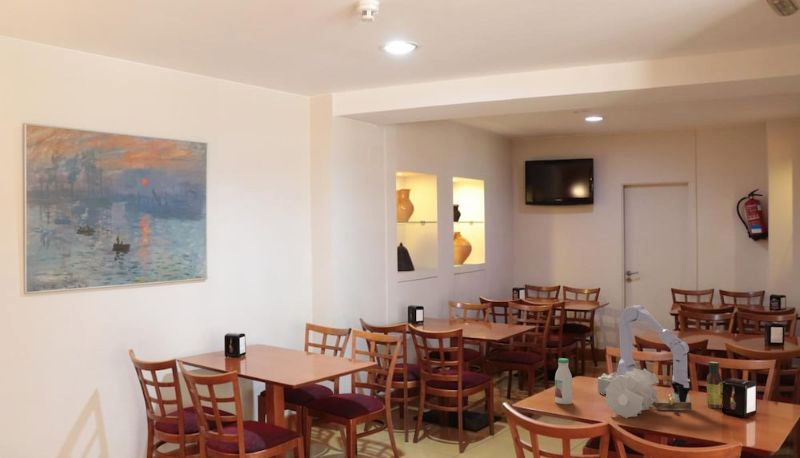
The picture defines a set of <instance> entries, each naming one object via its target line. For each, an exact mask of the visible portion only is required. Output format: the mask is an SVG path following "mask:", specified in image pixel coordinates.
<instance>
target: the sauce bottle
mask: <svg viewBox="0 0 800 458" xmlns="http://www.w3.org/2000/svg"><path fill="white" fill-rule="evenodd" d="M708 366H709V367H708V368H709V370H708V372H709V373H708V374H707V376H706V400H707V401H706V402H707V407H708V408H710V409H722V408H723V404H722V393H723V380H722V377H721V375H720V369H719V366H720V363H719V362H718V361H709V362H708Z"/></svg>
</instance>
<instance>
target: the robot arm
mask: <svg viewBox="0 0 800 458" xmlns="http://www.w3.org/2000/svg"><path fill="white" fill-rule="evenodd" d="M635 322H642V323H643V322H644V323H645V324H647V325H648V326H649V327H650V328H651V329H653V330H654V331H655V332H656V333H657V334H658V338H659V340H661V341H662V342H663V344H665V345H666V346H667V347H668V348H669V349H670V352H671V354H672V355H673V356H672V357H673V359H672V363H673V364H672V371H673V372H672V373H673V375H672V377H671V380H672V382H671V381H670V384H671V387H672V389H673V392H679V399H680V402H686V398H687V394H689V392H690V390H691V389H692V387H691V385H690V383H689V382H691V379H690V378H688V353H690V347H689V345H688V343H687V342H686V341H682V339H681V338H679V337H677V335H676V334H675V333H674V331H673V330H670V329H668V328H664V327H663V326H662V325H661V323H660V322H658V321H657V320H656V318H654V316H653V315H652V314H651V313H650V312H649V311H648V309H646V308H645V307H644V306H643V305H641V304H635V305H630V306H627V307H625V308H624V309H623V310H622V313H621V315H620V317H619V320H618V330H619V331H618V333H619V334H618V335H619V349H620V350H619V351H620V354H619V355H620V360H619V362H618V364H617V370H616V375H617V376H619V375H620V376H621V375H625V372H627V371H628V372H631V371H633V369H638V367H637V364H636V360H634V355H633V341H632V325H633V324H634V323H635Z"/></svg>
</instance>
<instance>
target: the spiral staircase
mask: <svg viewBox="0 0 800 458" xmlns="http://www.w3.org/2000/svg"><path fill="white" fill-rule="evenodd" d="M609 381H610V384H609V385H608V386H607V388H606V389H605V391H607V392H606V395H605V402H606V406H607V408H609V409H611V410H612V412H613V413H614V414H615V416H618V415H619V416H621V417H623V418H625V419H628V418H630V417H631V418H632V417H638V414H642V411H645V410H649V409H650V408H653V406H652V404H653V403H654V402H655V401H656V400H658V399H659V398H658V397H657V395H658V392H659V388H657V387H655V386H652V385H655V384H658V383H660V381H659V379H658V376H657V375H656V373H651V372H650V371H649V370H648V369H646V368H643V369H638V368H637V369H633V371H631V372H628V371H627V372H625V375H621V376H620V375H619V376H616V379H612V380H609Z"/></svg>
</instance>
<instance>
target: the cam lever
mask: <svg viewBox="0 0 800 458" xmlns="http://www.w3.org/2000/svg"><path fill="white" fill-rule="evenodd" d="M667 396H668V398H667V400H668V401H669V404H670V405H674V399H673V398H672V394H669V393H668V395H667Z"/></svg>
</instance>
